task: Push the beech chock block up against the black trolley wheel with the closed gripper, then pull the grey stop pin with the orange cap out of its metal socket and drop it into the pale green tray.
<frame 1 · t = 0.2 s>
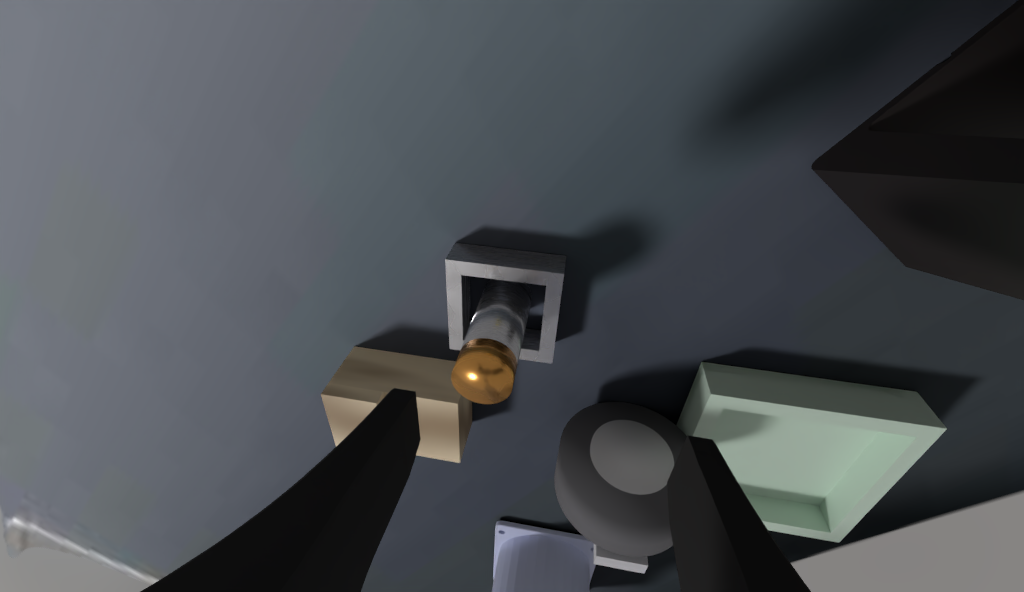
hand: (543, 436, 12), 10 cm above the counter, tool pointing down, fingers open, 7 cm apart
pin socket: (507, 295, 22), on the counter
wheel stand: (622, 418, 25), on the counter
chock block: (416, 382, 27), on the counter
stop pin: (496, 333, 19), in the pin socket
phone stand: (988, 120, 15), on the counter
tray: (768, 440, 24), on the counter
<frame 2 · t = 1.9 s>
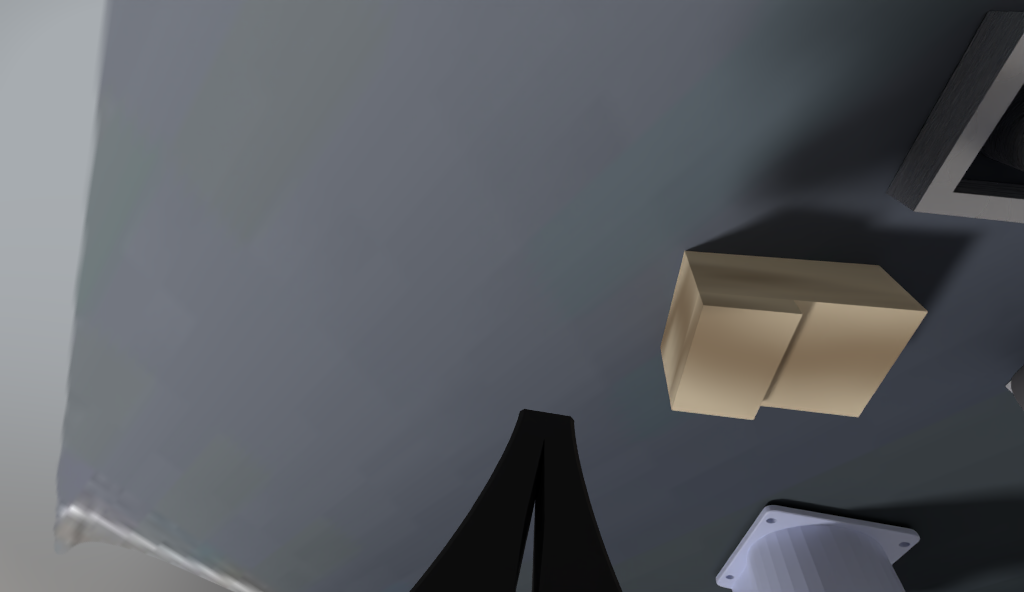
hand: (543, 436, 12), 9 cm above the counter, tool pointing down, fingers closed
chock block: (756, 307, 18), on the counter
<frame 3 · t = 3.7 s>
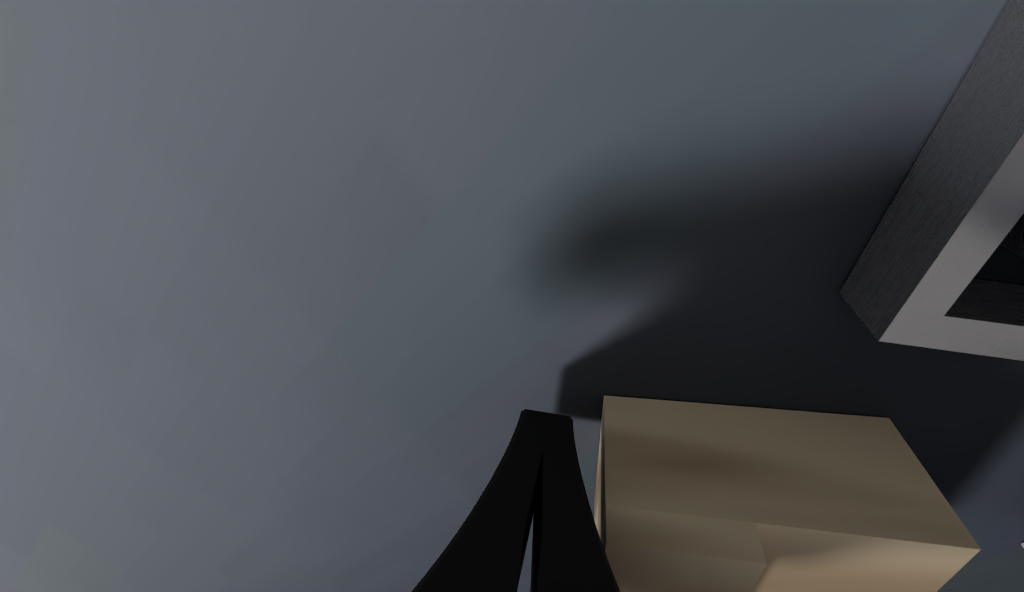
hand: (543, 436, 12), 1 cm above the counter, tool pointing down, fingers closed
chock block: (719, 464, 13), on the counter, touching gripper
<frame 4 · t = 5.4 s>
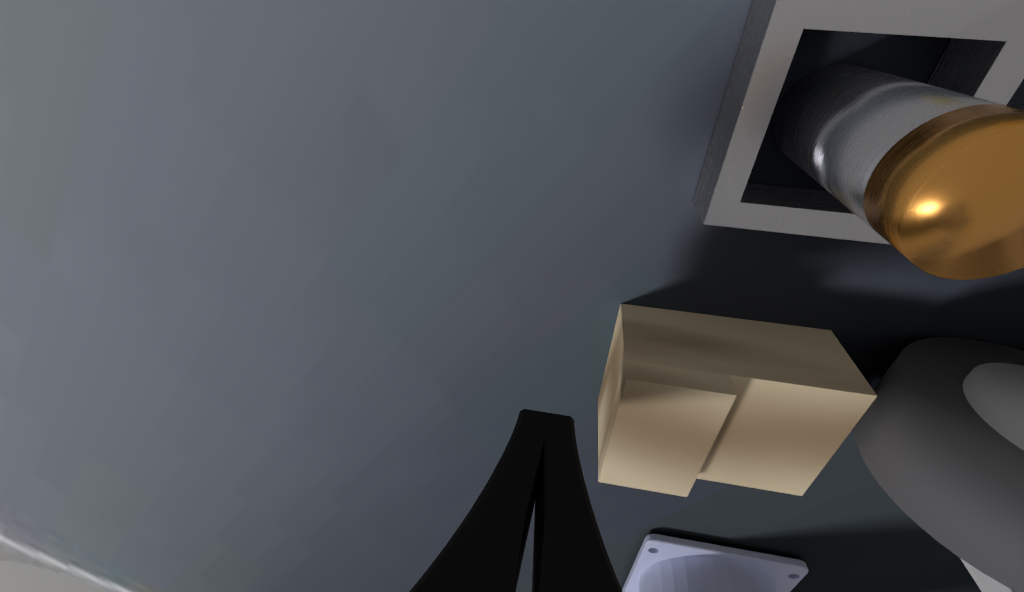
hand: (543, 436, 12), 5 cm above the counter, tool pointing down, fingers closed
pin socket: (825, 116, 11), on the counter
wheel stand: (943, 367, 15), on the counter
chock block: (700, 365, 17), on the counter
stop pin: (889, 149, 9), in the pin socket
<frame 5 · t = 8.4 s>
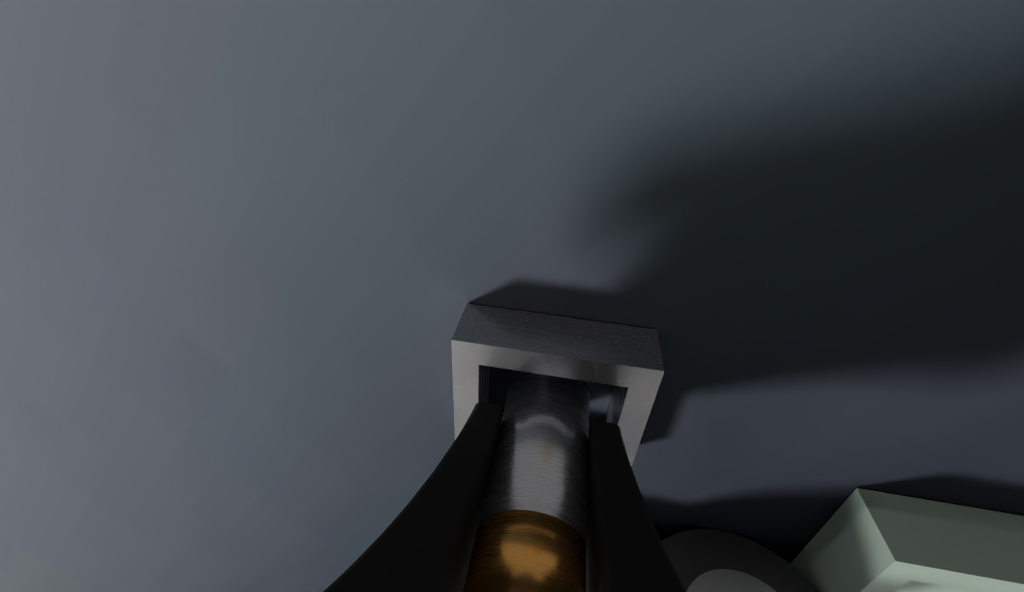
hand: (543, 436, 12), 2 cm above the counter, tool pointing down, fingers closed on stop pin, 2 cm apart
pin socket: (550, 383, 13), on the counter
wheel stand: (709, 547, 17), on the counter
stop pin: (539, 468, 11), in the pin socket, touching gripper
tray: (933, 589, 16), on the counter
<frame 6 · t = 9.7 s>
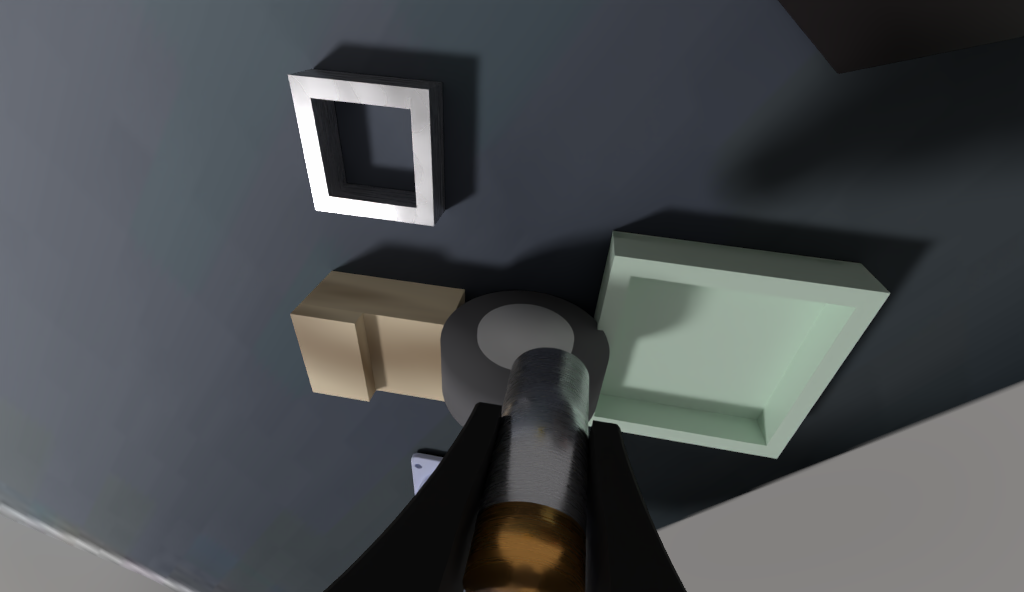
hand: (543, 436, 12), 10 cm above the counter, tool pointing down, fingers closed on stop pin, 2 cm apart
pin socket: (383, 144, 18), on the counter
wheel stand: (532, 313, 22), on the counter
chock block: (403, 316, 24), on the counter
stop pin: (539, 461, 11), point 11 cm above the counter, touching gripper
tray: (696, 338, 21), on the counter
when the fingers open (4 cm above the counter, at t = 11.0 s): stop pin drops 1 cm, resting on tray.
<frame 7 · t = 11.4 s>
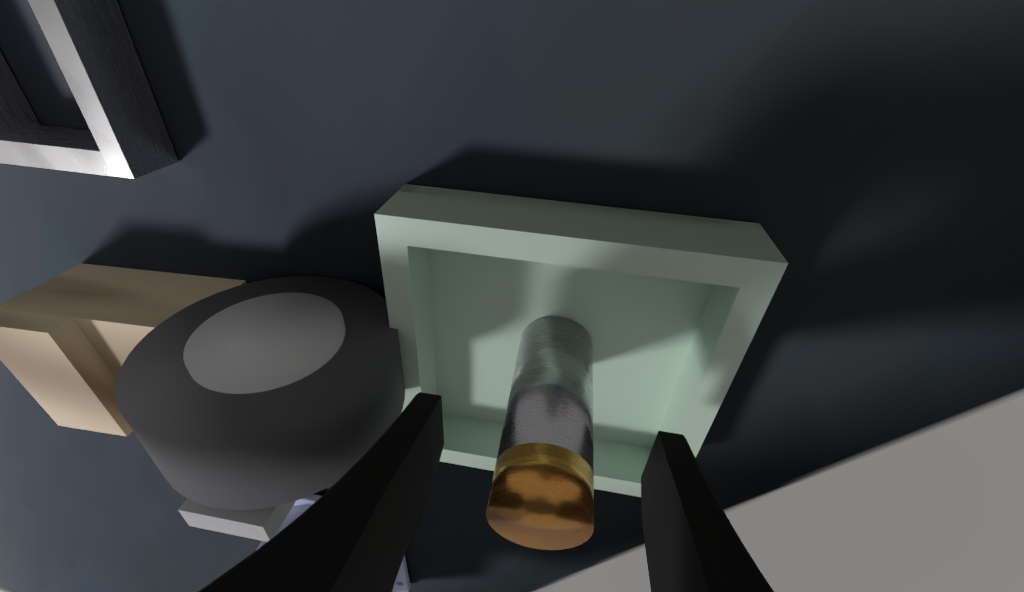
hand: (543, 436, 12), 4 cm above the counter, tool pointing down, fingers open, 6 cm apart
pin socket: (61, 61, 12), on the counter
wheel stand: (338, 306, 16), on the counter
chock block: (192, 320, 18), on the counter
stop pin: (549, 415, 12), in the tray, point 4 cm above the counter
tray: (555, 338, 15), on the counter
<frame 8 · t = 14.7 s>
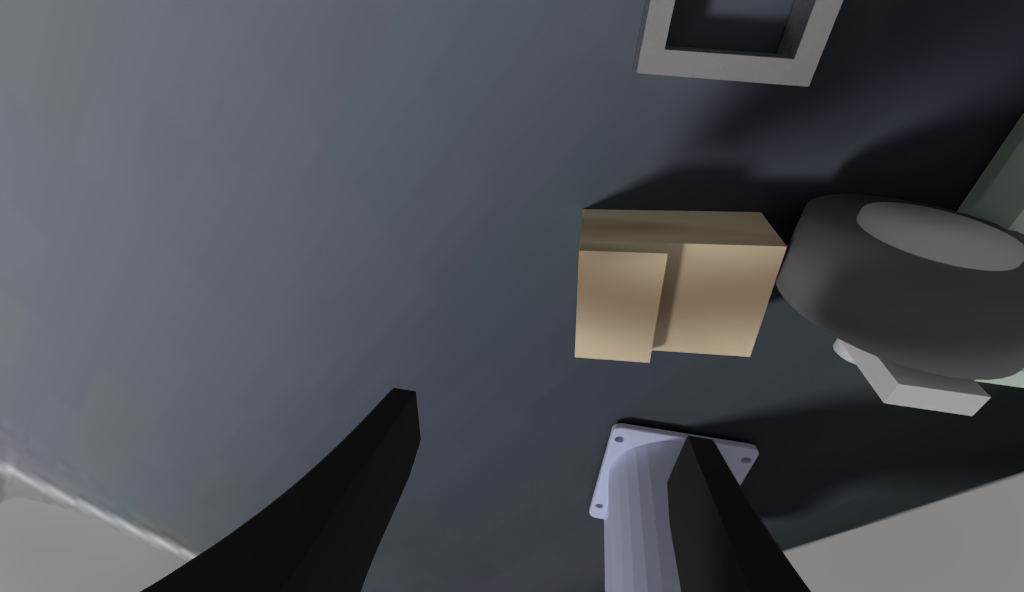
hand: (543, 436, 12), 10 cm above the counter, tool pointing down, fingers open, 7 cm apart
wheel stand: (856, 226, 17), on the counter
chock block: (659, 260, 20), on the counter
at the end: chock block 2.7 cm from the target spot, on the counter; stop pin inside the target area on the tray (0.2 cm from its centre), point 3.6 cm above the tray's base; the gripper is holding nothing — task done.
